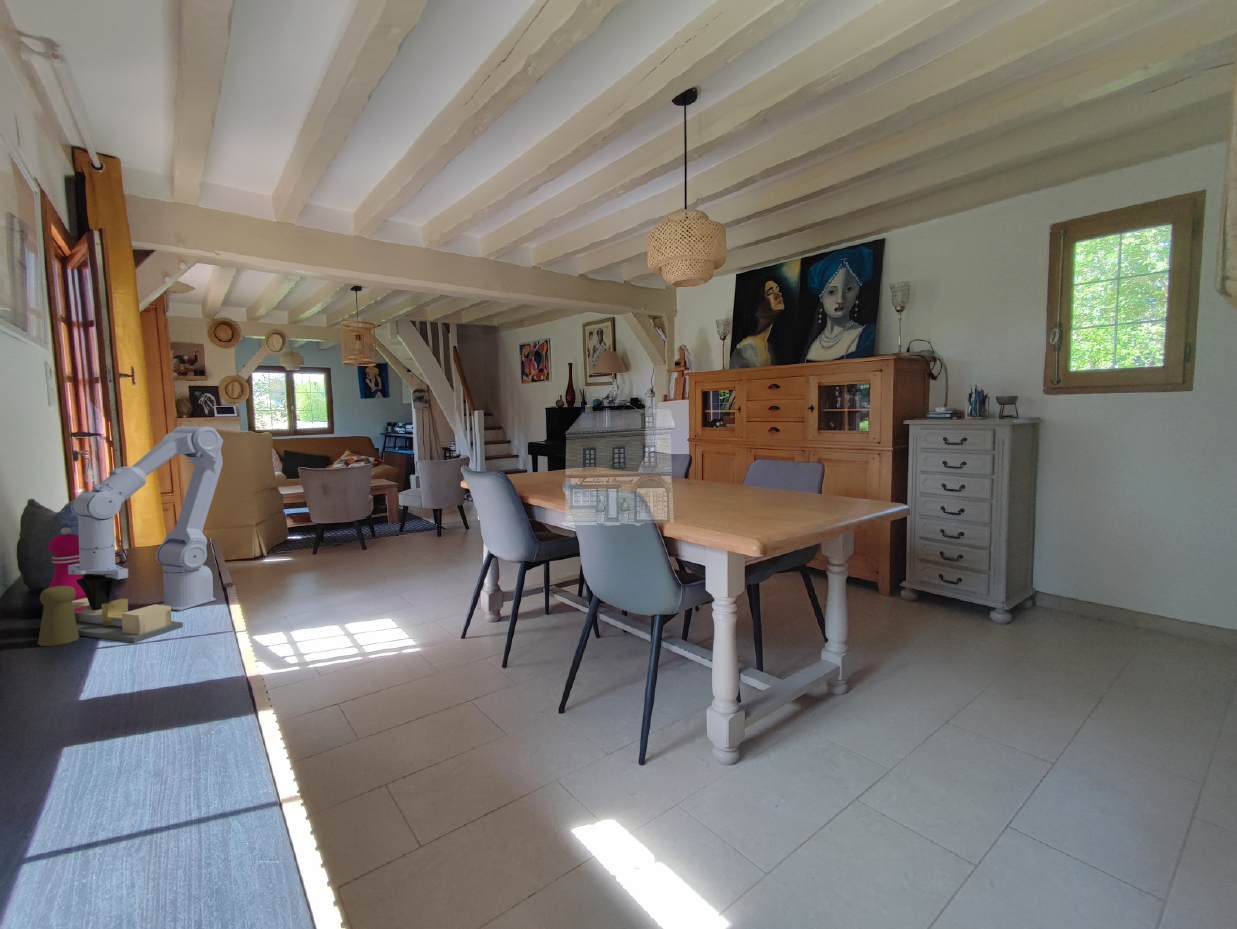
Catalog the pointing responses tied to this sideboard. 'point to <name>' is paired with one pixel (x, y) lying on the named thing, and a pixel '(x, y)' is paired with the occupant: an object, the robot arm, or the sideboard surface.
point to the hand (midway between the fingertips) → (99, 609)
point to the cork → (58, 616)
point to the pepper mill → (66, 561)
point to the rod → (104, 613)
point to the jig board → (130, 624)
